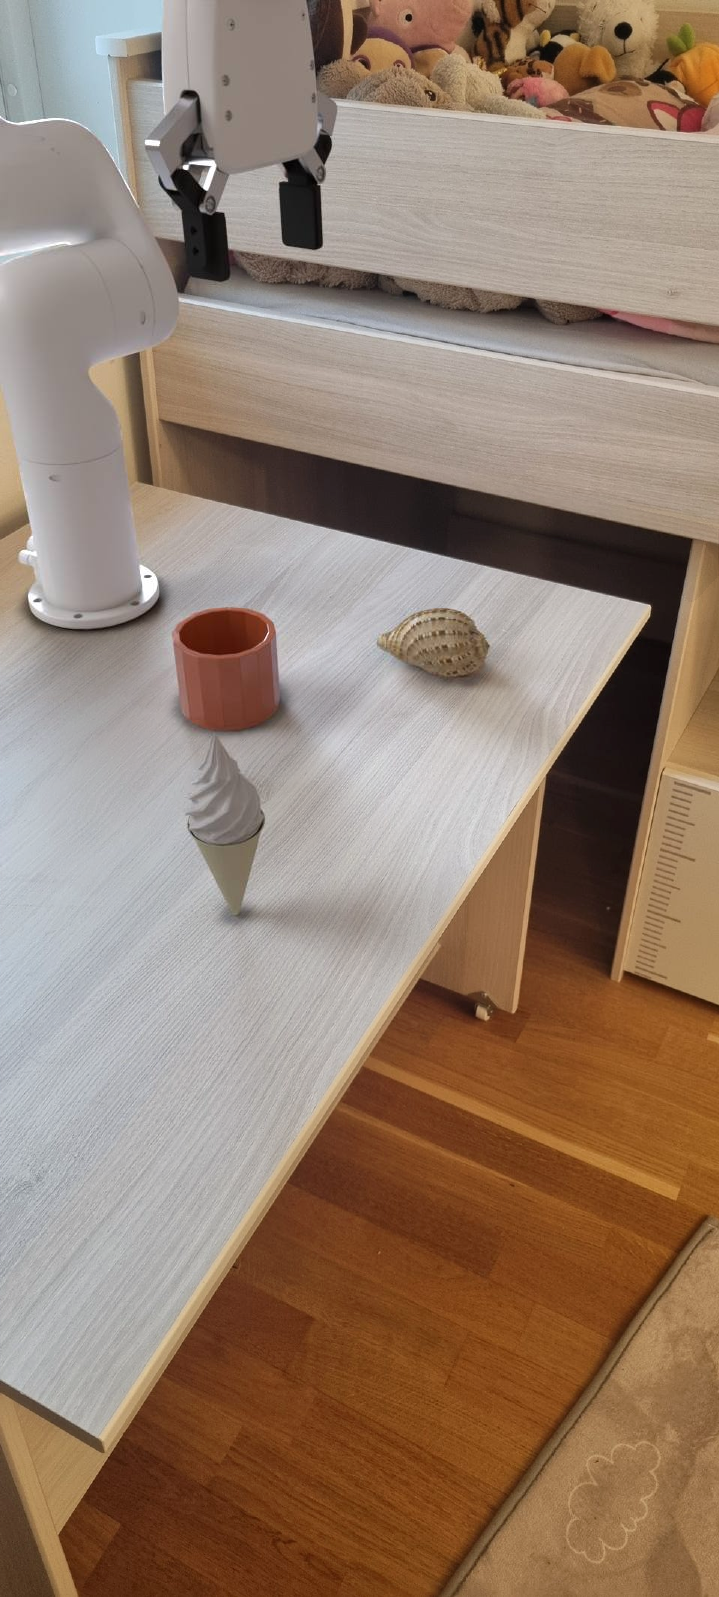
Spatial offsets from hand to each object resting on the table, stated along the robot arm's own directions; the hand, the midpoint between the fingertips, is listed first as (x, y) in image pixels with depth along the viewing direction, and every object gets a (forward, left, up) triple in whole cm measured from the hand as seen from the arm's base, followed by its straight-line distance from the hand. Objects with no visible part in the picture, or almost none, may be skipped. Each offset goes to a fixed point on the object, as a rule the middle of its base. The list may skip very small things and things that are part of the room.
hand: (257, 261), depth 80 cm
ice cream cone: (+13, -22, -36) cm, 44 cm away
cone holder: (-4, -2, -36) cm, 36 cm away
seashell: (+7, +13, -36) cm, 39 cm away
